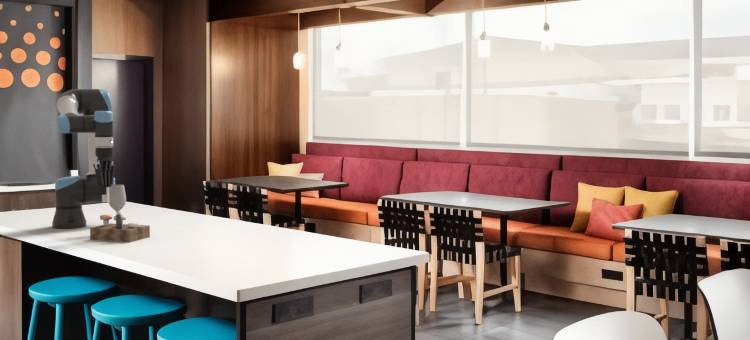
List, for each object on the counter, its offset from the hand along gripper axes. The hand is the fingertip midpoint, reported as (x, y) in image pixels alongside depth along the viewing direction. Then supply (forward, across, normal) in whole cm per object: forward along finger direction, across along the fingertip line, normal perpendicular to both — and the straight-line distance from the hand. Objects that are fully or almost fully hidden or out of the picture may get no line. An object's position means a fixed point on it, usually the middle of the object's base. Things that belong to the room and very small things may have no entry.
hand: (105, 202), depth 367 cm
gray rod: (+10, -5, -10) cm, 16 cm away
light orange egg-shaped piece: (+12, 0, 0) cm, 12 cm away
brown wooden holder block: (+15, 0, -7) cm, 17 cm away
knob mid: (+12, 0, -7) cm, 14 cm away
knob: (+15, 0, -14) cm, 20 cm away
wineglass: (+16, +15, +5) cm, 22 cm away
